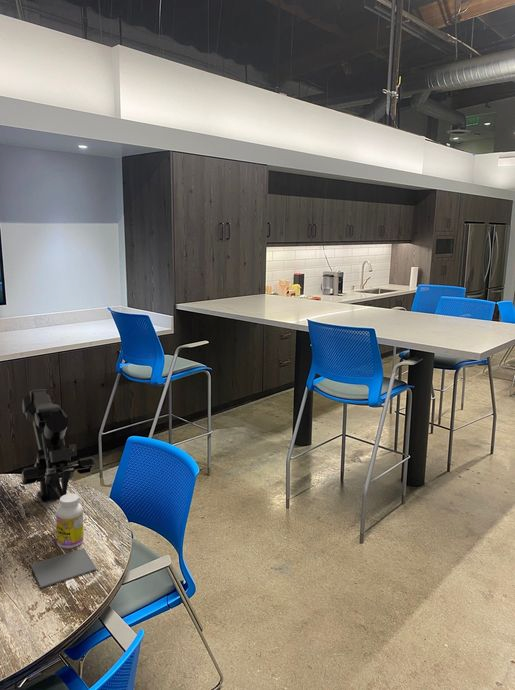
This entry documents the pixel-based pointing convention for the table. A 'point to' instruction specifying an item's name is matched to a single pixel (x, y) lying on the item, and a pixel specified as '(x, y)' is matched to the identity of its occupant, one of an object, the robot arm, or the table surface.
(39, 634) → the table surface
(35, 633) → the table surface
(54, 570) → the mat
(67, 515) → the supplement bottle
